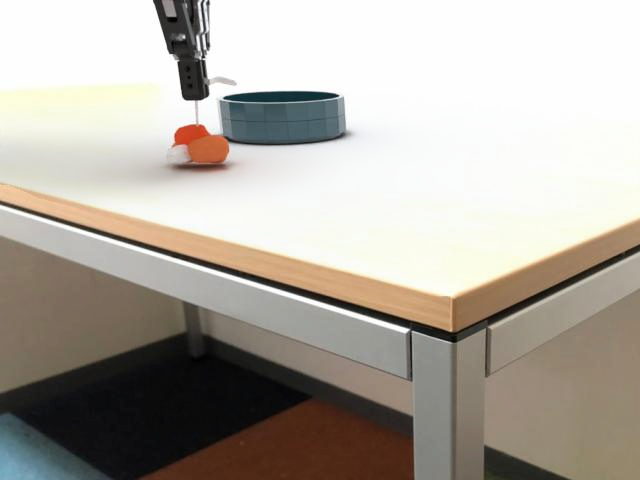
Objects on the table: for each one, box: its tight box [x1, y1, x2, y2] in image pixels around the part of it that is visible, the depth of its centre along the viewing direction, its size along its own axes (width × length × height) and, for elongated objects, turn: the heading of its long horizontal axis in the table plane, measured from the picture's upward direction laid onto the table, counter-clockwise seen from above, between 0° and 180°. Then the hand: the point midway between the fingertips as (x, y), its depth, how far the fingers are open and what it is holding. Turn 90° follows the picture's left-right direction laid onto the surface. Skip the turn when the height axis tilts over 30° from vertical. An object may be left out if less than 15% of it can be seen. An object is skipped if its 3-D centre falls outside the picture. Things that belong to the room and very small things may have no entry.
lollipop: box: [165, 60, 238, 164], centre depth 77 cm, size 6×10×12 cm, turn 57°
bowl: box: [216, 90, 347, 145], centre depth 99 cm, size 16×16×5 cm
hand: (196, 98), depth 76 cm, fingers closed on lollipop, 1 cm apart
